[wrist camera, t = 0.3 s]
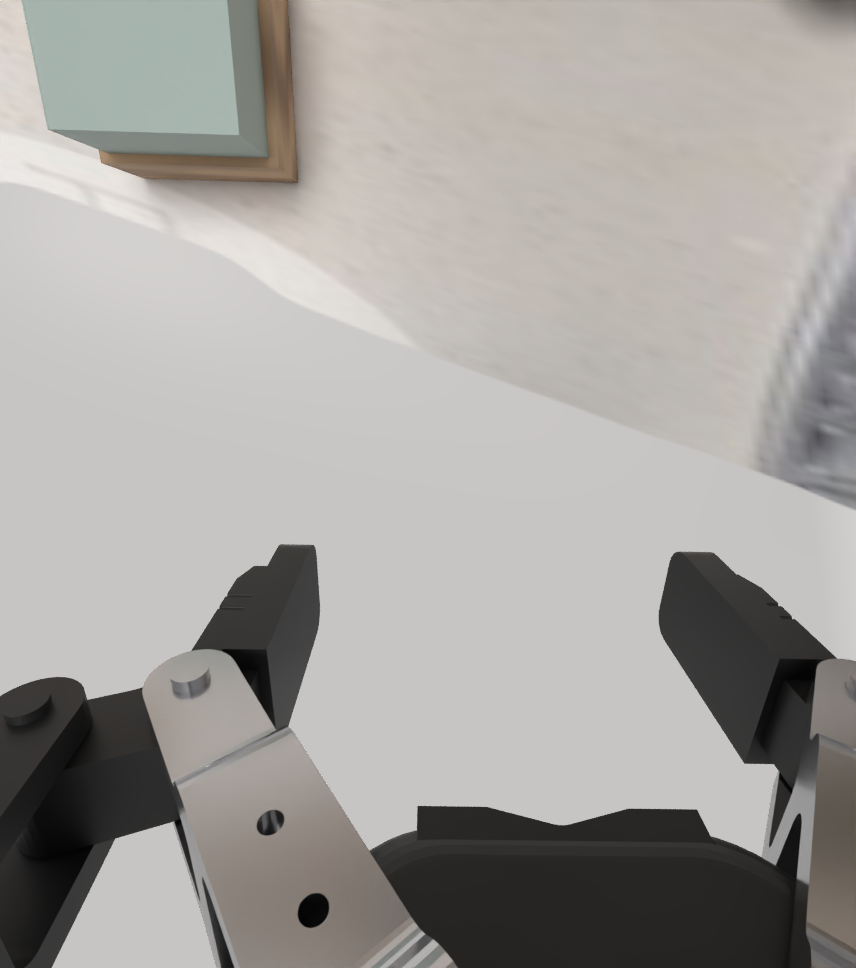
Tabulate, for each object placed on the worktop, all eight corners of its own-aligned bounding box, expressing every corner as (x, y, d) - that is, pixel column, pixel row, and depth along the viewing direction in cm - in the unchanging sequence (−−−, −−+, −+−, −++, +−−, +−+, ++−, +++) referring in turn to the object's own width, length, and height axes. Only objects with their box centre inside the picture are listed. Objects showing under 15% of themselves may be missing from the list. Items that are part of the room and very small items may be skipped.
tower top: (72, -57, 26) (-5, -130, 21) (253, -51, 26) (216, -122, 22) (107, 153, 29) (47, 129, 25) (268, 158, 29) (239, 135, 25)
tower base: (116, -18, 31) (60, -71, 26) (287, -11, 31) (263, -64, 26) (145, 178, 34) (101, 162, 29) (298, 183, 34) (278, 168, 30)
